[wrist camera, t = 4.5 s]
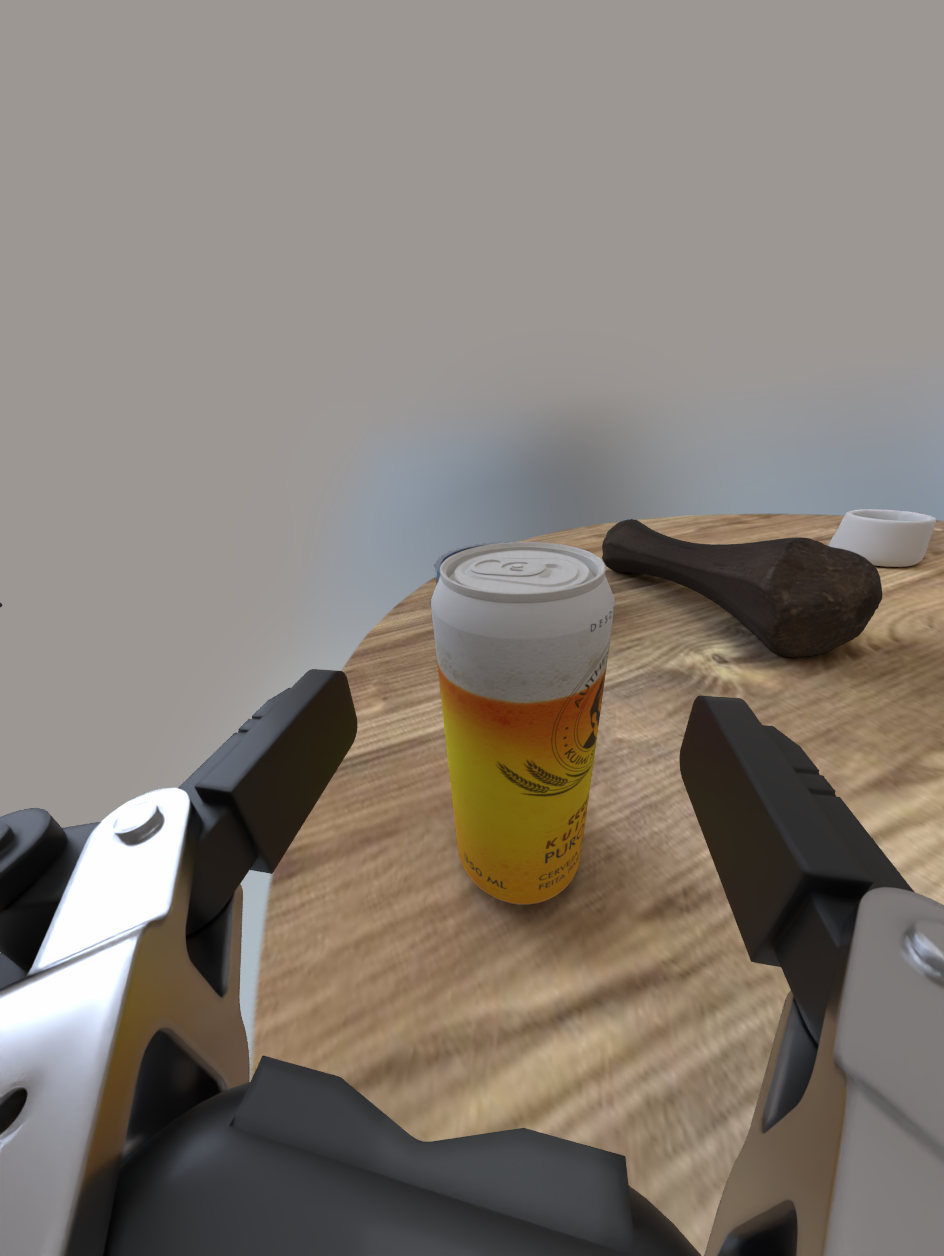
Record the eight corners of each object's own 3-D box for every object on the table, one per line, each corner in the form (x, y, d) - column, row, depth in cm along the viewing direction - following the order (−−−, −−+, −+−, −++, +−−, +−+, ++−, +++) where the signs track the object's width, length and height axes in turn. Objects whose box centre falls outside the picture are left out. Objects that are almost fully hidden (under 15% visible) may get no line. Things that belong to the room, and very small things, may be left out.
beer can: (572, 936, 16) (619, 609, 9) (439, 888, 18) (392, 589, 11) (584, 811, 21) (619, 542, 14) (479, 785, 23) (465, 536, 16)
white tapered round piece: (902, 574, 48) (926, 526, 45) (812, 556, 56) (828, 514, 53) (937, 556, 53) (961, 512, 50) (850, 542, 61) (866, 504, 58)
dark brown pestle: (845, 682, 33) (625, 601, 58) (917, 568, 31) (657, 535, 56) (777, 650, 28) (571, 578, 53) (856, 515, 26) (604, 506, 51)
